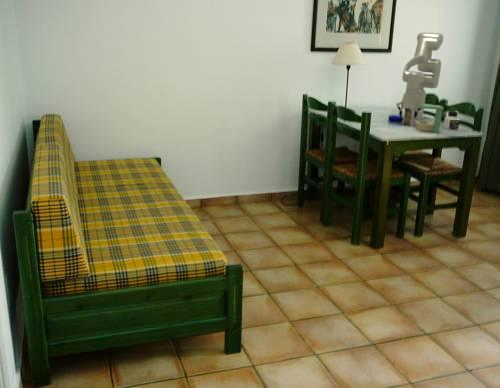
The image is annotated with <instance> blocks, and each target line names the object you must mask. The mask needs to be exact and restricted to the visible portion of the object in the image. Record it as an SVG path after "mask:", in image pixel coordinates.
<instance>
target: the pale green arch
mask: <svg viewBox="0 0 500 388" xmlns="http://www.w3.org/2000/svg"><path fill="white" fill-rule="evenodd" d="M419 106H420V107H421V108H424V109H425V110H426V109H428V110H435V117H434V122H433V125H434V127H433V131H432V133H435V134H438V133H440V126H441V122H442V115H443V110H445V108H444V107H443V106H442V105H439V104H438V105H436V104H419Z"/></svg>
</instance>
